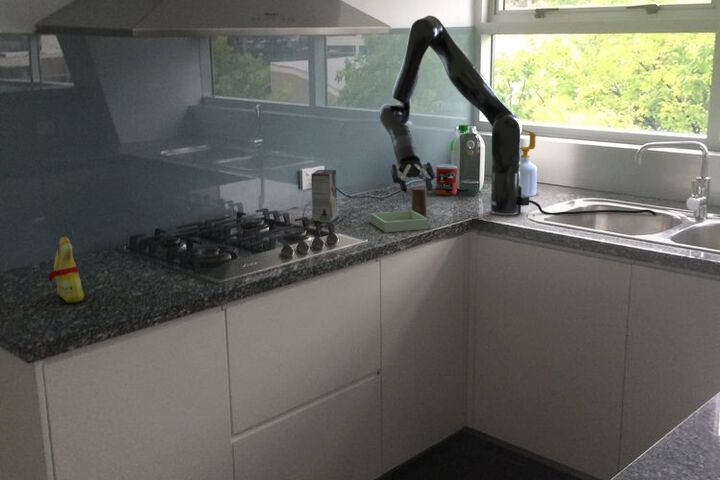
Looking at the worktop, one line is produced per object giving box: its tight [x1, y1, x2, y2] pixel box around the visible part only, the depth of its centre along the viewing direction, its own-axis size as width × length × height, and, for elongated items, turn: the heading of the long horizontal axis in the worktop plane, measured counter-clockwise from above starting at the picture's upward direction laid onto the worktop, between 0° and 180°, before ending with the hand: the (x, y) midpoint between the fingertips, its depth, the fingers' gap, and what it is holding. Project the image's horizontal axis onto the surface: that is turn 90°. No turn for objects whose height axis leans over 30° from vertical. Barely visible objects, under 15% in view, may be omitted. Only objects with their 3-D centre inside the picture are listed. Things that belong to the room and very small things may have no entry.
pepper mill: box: [411, 186, 427, 218], centre depth 275 cm, size 5×5×10 cm
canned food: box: [435, 163, 458, 197], centre depth 314 cm, size 8×8×11 cm
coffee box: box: [310, 169, 338, 223], centre depth 274 cm, size 9×6×16 cm
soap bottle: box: [519, 129, 538, 197], centre depth 310 cm, size 9×9×25 cm
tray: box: [369, 209, 430, 233], centre depth 265 cm, size 15×15×3 cm
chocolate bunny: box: [48, 236, 85, 304], centre depth 194 cm, size 7×11×15 cm, turn 36°
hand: (417, 190), depth 275 cm, fingers open, 8 cm apart
